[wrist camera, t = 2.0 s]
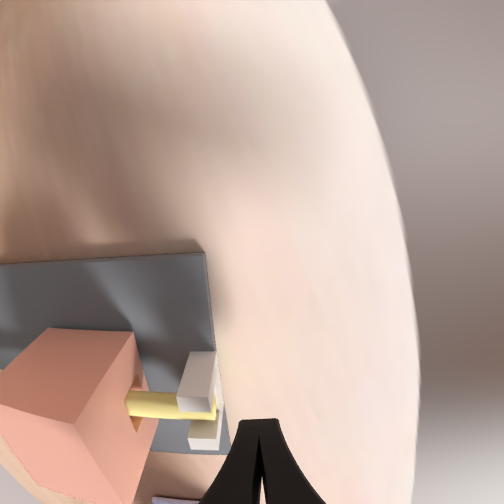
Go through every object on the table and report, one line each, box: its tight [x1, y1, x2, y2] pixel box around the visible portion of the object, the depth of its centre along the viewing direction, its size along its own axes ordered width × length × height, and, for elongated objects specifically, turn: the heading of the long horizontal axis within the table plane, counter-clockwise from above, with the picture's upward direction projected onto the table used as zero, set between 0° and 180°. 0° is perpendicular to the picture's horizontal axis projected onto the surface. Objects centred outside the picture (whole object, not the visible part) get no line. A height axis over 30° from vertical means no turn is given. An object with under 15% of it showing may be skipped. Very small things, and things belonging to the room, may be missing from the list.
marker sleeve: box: [0, 328, 159, 504], centre depth 11 cm, size 6×5×6 cm
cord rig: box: [0, 252, 231, 455], centre depth 13 cm, size 12×25×4 cm, turn 93°
